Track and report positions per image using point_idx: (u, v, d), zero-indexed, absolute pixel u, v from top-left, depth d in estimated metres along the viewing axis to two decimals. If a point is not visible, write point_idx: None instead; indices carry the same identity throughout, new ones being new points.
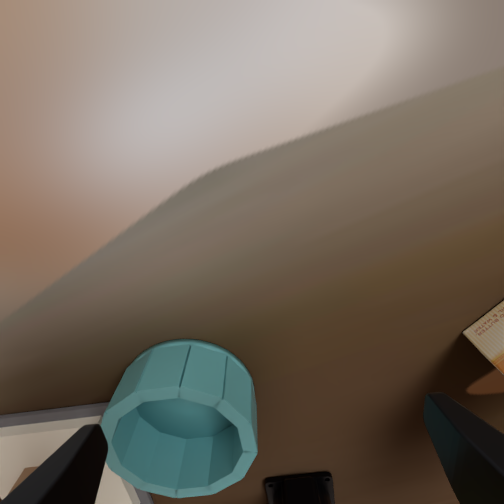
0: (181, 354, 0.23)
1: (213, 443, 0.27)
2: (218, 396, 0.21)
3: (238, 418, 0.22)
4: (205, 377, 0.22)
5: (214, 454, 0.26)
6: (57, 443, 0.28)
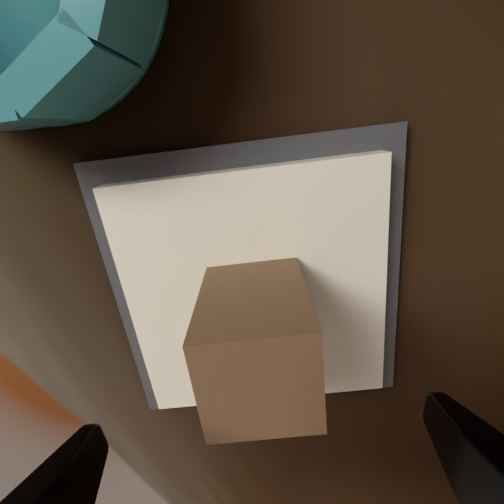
0: None
1: None
2: None
3: None
4: None
5: None
6: (150, 272, 0.14)
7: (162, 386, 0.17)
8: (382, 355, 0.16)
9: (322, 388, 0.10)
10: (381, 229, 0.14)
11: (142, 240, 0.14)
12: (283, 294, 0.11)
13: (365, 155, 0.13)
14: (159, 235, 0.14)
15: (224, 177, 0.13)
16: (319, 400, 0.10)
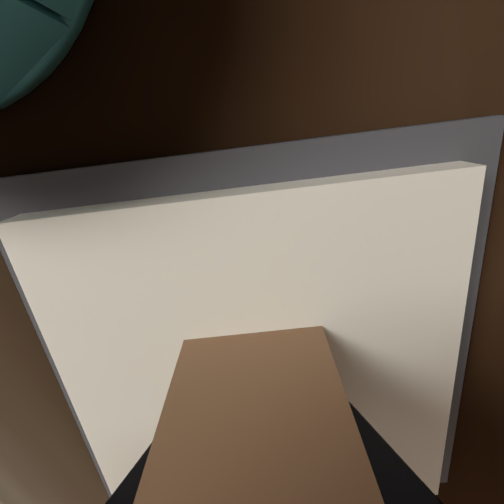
0: None
1: None
2: None
3: None
4: None
5: None
6: (98, 346, 0.09)
7: None
8: (441, 455, 0.11)
9: None
10: (457, 285, 0.09)
11: (81, 302, 0.09)
12: (309, 424, 0.06)
13: (441, 171, 0.08)
14: (108, 294, 0.09)
15: (208, 207, 0.08)
16: None
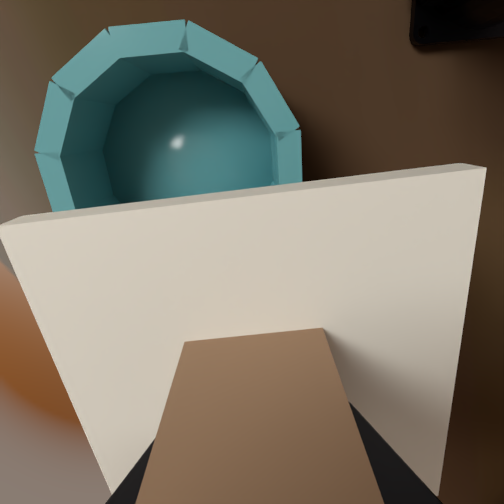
0: None
1: (268, 132, 0.16)
2: (48, 87, 0.12)
3: (94, 53, 0.12)
4: None
5: (267, 128, 0.15)
6: (98, 348, 0.09)
7: None
8: (442, 456, 0.11)
9: None
10: (457, 287, 0.09)
11: (83, 304, 0.09)
12: (310, 426, 0.06)
13: (441, 173, 0.08)
14: (109, 296, 0.09)
15: (208, 209, 0.08)
16: None
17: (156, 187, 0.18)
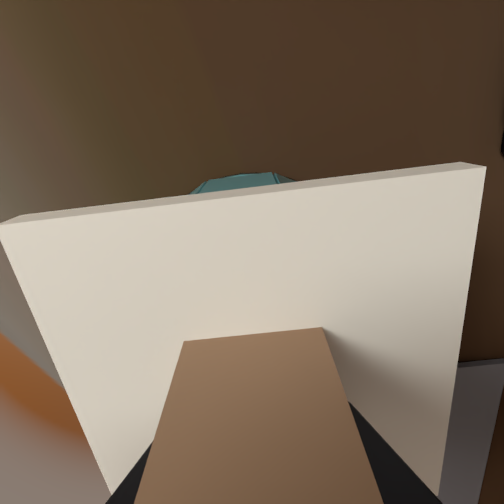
0: None
1: None
2: None
3: None
4: None
5: None
6: (98, 347, 0.09)
7: None
8: (441, 456, 0.11)
9: None
10: (457, 287, 0.09)
11: (81, 303, 0.09)
12: (309, 426, 0.06)
13: (441, 172, 0.08)
14: (108, 295, 0.09)
15: (208, 208, 0.08)
16: None
17: None
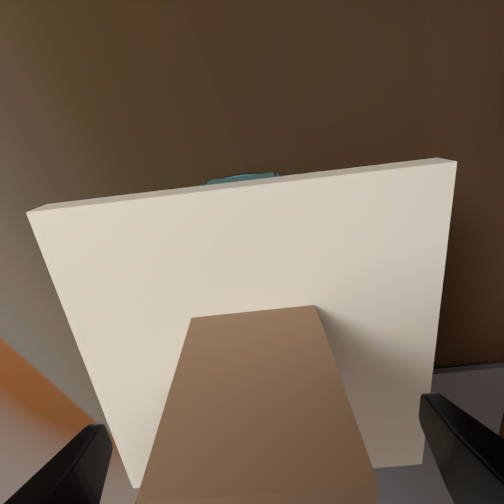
0: None
1: None
2: None
3: None
4: None
5: None
6: (114, 323, 0.11)
7: (136, 461, 0.13)
8: None
9: None
10: (434, 268, 0.10)
11: (100, 282, 0.10)
12: (301, 380, 0.07)
13: (418, 166, 0.09)
14: (124, 275, 0.10)
15: (214, 197, 0.09)
16: None
17: None
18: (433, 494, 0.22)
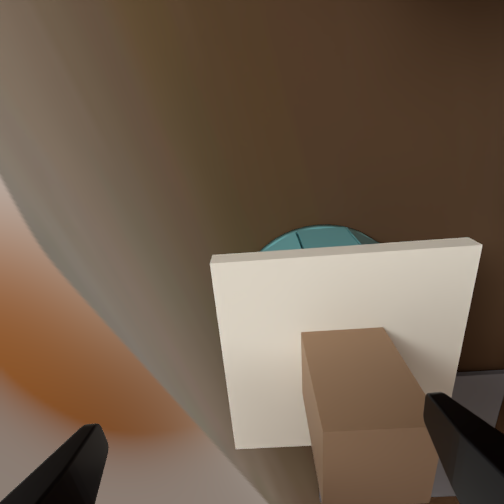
0: None
1: None
2: None
3: None
4: None
5: None
6: (249, 334, 0.16)
7: (242, 429, 0.18)
8: None
9: (434, 468, 0.11)
10: (463, 307, 0.15)
11: (246, 307, 0.15)
12: (390, 375, 0.13)
13: (458, 246, 0.14)
14: (263, 304, 0.15)
15: (329, 259, 0.14)
16: (429, 477, 0.12)
17: None
18: (440, 473, 0.28)
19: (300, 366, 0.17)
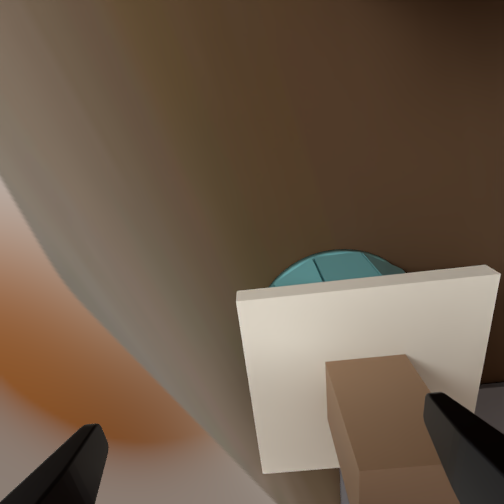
0: None
1: None
2: None
3: None
4: None
5: None
6: (275, 365, 0.16)
7: (269, 455, 0.19)
8: None
9: None
10: (483, 332, 0.16)
11: (272, 341, 0.16)
12: (417, 407, 0.13)
13: (477, 276, 0.15)
14: (288, 337, 0.16)
15: (352, 293, 0.15)
16: None
17: None
18: None
19: (325, 393, 0.17)
